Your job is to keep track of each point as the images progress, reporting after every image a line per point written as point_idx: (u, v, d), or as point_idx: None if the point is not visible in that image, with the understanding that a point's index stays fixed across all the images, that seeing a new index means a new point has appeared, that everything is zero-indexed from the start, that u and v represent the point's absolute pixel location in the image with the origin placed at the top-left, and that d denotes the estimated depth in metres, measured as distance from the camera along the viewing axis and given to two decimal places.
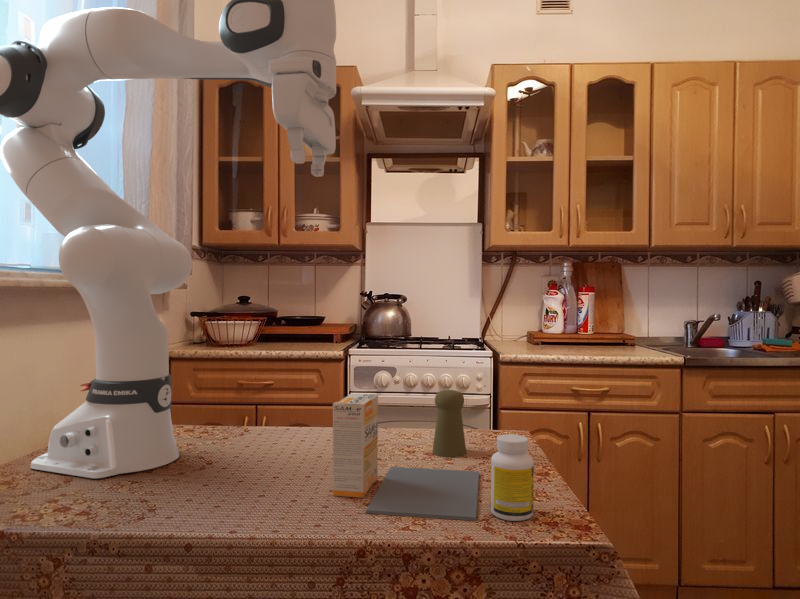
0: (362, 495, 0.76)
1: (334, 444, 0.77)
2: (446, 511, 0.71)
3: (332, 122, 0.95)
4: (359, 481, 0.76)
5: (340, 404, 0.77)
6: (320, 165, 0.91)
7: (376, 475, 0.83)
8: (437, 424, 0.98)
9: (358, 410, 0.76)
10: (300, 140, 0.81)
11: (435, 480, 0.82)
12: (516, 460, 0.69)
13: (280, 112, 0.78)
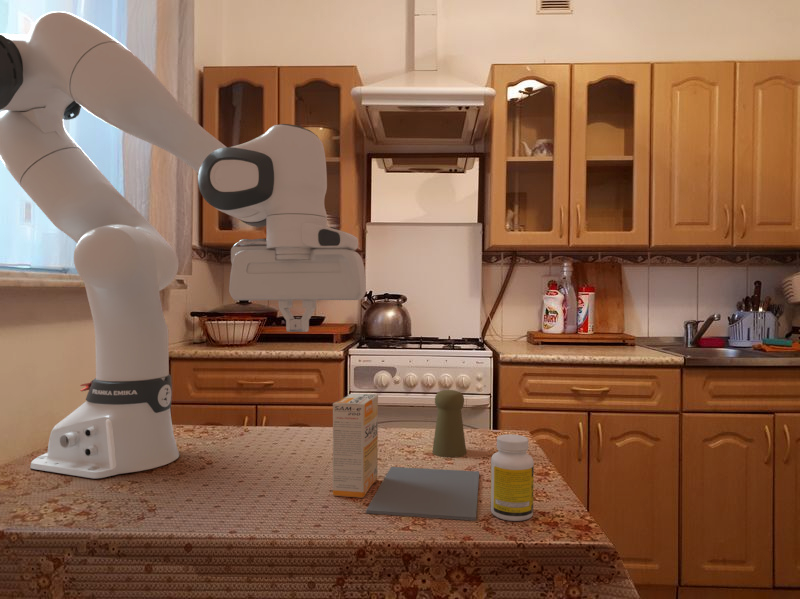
0: (362, 495, 0.76)
1: (334, 444, 0.77)
2: (446, 511, 0.71)
3: None
4: (359, 481, 0.76)
5: (340, 404, 0.77)
6: None
7: (376, 475, 0.83)
8: (437, 424, 0.98)
9: (358, 410, 0.76)
10: (313, 311, 0.82)
11: (435, 480, 0.82)
12: (516, 460, 0.69)
13: (362, 291, 0.79)
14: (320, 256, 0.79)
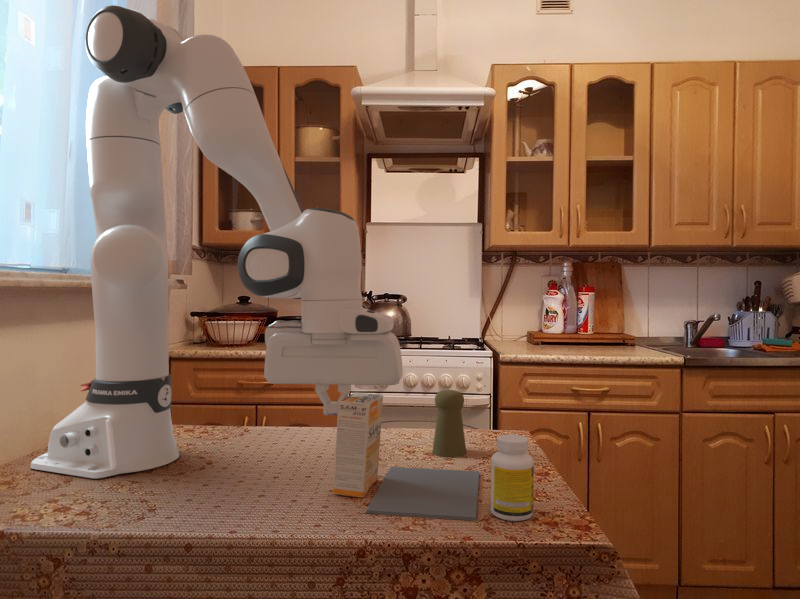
0: (362, 495, 0.76)
1: (337, 442, 0.77)
2: (446, 511, 0.71)
3: None
4: (360, 481, 0.76)
5: (345, 403, 0.77)
6: None
7: (376, 475, 0.83)
8: (437, 424, 0.98)
9: (363, 410, 0.76)
10: (348, 393, 0.81)
11: (435, 480, 0.82)
12: (516, 460, 0.69)
13: (400, 376, 0.78)
14: (357, 341, 0.78)
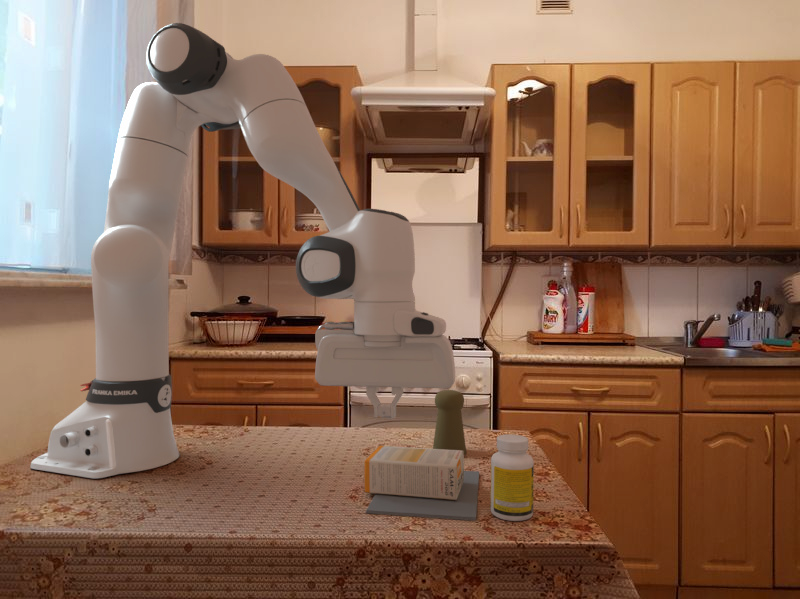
0: (366, 491, 0.77)
1: (414, 466, 0.75)
2: (446, 511, 0.71)
3: None
4: (379, 489, 0.76)
5: (455, 474, 0.74)
6: (385, 405, 0.81)
7: None
8: (437, 424, 0.98)
9: (450, 493, 0.74)
10: (400, 396, 0.80)
11: None
12: (515, 460, 0.69)
13: (454, 379, 0.77)
14: (412, 344, 0.77)
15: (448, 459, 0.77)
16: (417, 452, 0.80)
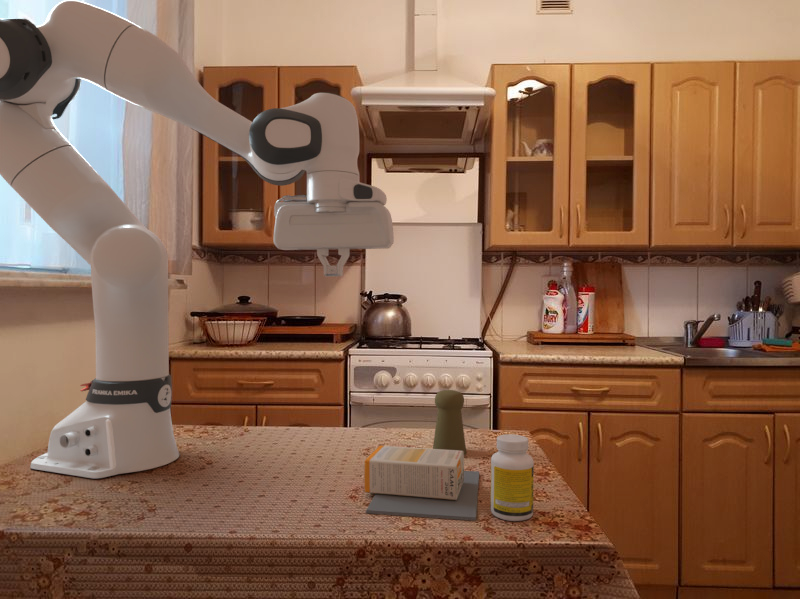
0: (366, 491, 0.77)
1: (414, 466, 0.75)
2: (446, 511, 0.71)
3: None
4: (379, 489, 0.76)
5: (455, 474, 0.74)
6: None
7: None
8: (437, 424, 0.98)
9: (450, 493, 0.74)
10: None
11: None
12: (516, 460, 0.69)
13: (391, 240, 0.91)
14: (355, 208, 0.90)
15: (448, 459, 0.77)
16: (417, 452, 0.80)
